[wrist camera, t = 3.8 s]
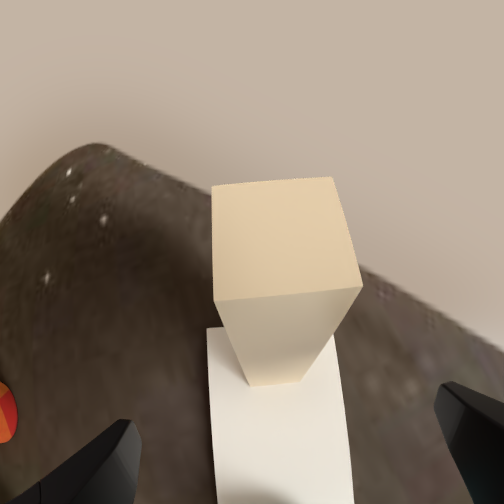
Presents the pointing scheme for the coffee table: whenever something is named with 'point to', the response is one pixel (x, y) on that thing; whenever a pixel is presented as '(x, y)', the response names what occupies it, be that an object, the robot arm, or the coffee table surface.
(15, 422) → the paper cup
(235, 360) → the white base with post
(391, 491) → the coffee table surface
